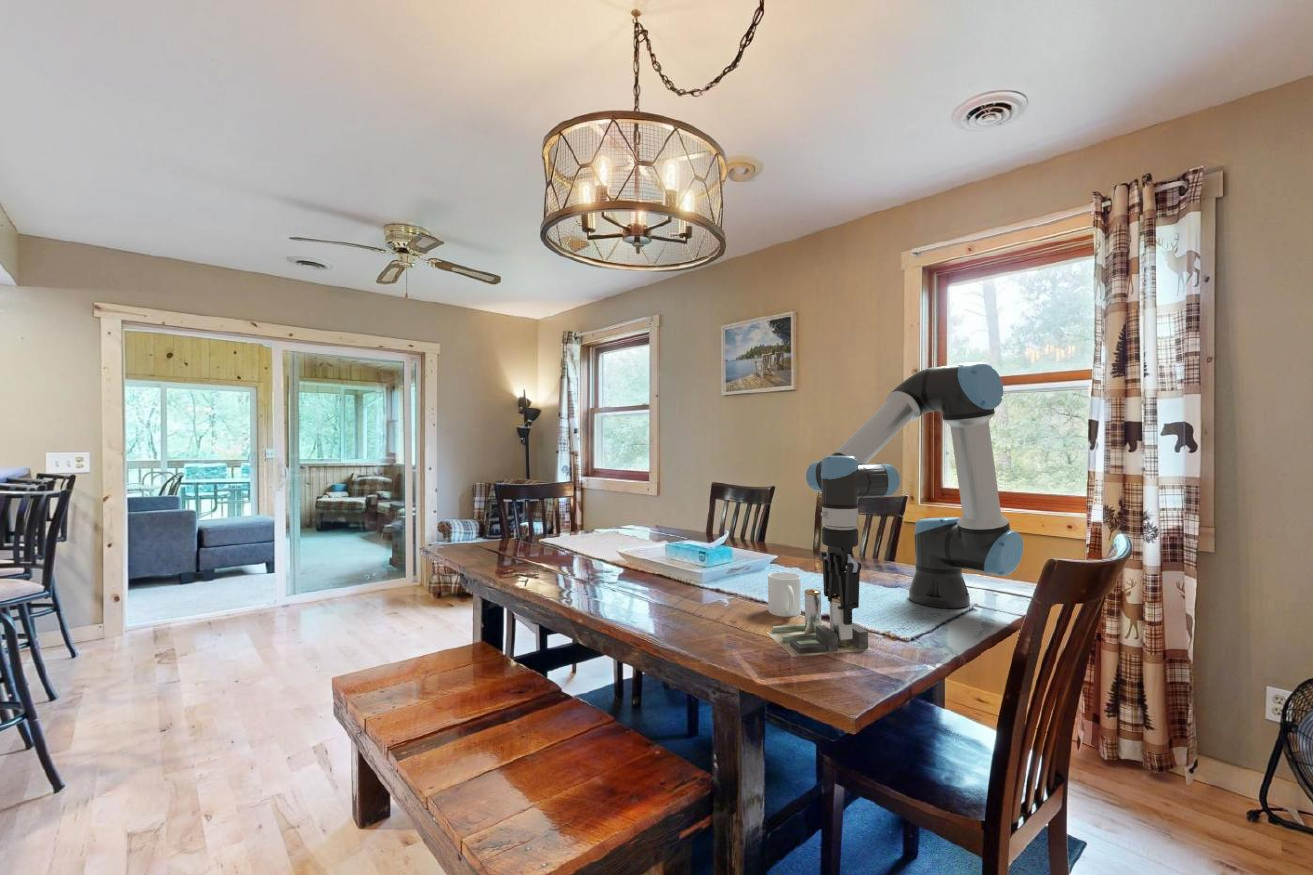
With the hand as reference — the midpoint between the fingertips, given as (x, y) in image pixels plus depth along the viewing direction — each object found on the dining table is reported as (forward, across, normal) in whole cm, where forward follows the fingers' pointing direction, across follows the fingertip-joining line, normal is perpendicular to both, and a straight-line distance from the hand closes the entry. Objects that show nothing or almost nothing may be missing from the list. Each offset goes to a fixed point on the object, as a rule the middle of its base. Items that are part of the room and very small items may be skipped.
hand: (840, 635), depth 122 cm
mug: (+3, -23, -3) cm, 24 cm away
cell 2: (+2, 0, 0) cm, 2 cm away
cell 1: (+2, -8, -3) cm, 8 cm away
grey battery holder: (+3, -4, -4) cm, 6 cm away
